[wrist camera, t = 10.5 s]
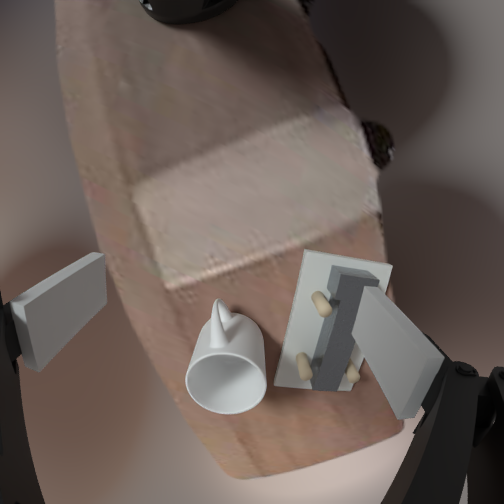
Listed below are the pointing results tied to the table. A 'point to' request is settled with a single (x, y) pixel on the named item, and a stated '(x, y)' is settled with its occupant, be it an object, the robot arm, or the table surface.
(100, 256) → the robot arm
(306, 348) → the rack
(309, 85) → the table surface
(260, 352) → the mug
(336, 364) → the grey bar
